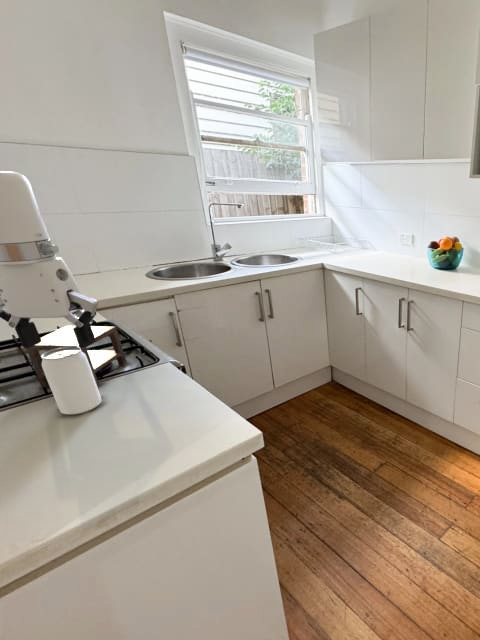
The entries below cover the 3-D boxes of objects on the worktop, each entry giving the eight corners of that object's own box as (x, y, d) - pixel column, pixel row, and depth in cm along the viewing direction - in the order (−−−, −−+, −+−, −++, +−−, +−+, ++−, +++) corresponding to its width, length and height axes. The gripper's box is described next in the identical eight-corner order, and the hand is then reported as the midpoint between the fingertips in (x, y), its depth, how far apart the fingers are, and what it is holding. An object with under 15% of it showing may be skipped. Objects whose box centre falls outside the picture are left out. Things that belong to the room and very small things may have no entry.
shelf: (41, 387, 82) (24, 345, 78) (80, 364, 92) (66, 325, 88) (95, 387, 83) (80, 345, 79) (127, 364, 93) (115, 326, 89)
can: (84, 396, 79) (65, 343, 74) (110, 400, 78) (92, 347, 73) (51, 413, 74) (28, 357, 69) (79, 418, 72) (57, 361, 68)
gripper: (94, 248, 67) (122, 336, 74) (-10, 247, 66) (29, 337, 73) (60, 256, 61) (94, 353, 67) (-56, 255, 60) (-9, 354, 66)
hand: (60, 344), depth 70 cm, fingers open, 9 cm apart
